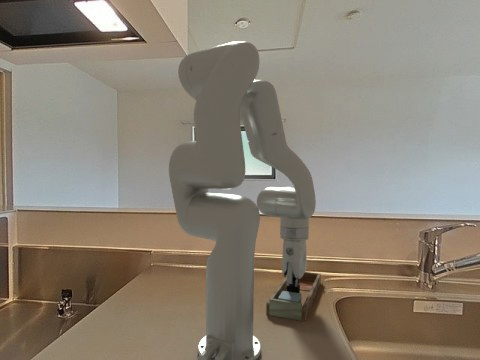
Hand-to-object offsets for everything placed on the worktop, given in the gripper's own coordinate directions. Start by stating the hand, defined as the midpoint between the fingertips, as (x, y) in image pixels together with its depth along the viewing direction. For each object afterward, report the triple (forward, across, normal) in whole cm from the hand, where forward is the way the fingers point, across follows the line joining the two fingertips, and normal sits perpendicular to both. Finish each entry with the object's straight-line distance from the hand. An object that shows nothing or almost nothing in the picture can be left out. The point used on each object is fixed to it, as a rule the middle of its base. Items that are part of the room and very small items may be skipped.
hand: (293, 299), depth 89 cm
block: (+1, -5, 0) cm, 5 cm away
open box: (+1, +5, 0) cm, 5 cm away
